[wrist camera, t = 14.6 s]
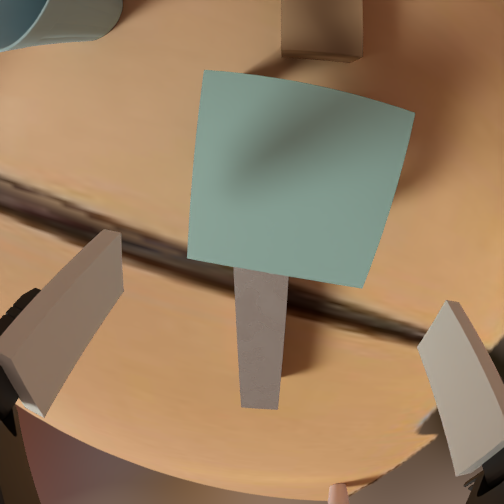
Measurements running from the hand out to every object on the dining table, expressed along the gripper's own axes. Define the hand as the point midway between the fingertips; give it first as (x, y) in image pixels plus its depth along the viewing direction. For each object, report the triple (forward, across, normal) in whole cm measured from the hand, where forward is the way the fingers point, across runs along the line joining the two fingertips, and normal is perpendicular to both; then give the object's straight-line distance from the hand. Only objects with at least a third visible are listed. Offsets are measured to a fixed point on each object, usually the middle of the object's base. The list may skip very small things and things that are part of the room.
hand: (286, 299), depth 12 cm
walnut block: (+15, -1, +14) cm, 21 cm away
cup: (+15, -19, +13) cm, 27 cm away
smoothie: (+15, +28, -61) cm, 69 cm away
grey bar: (+15, 0, -11) cm, 19 cm away
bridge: (+15, 0, +3) cm, 15 cm away
